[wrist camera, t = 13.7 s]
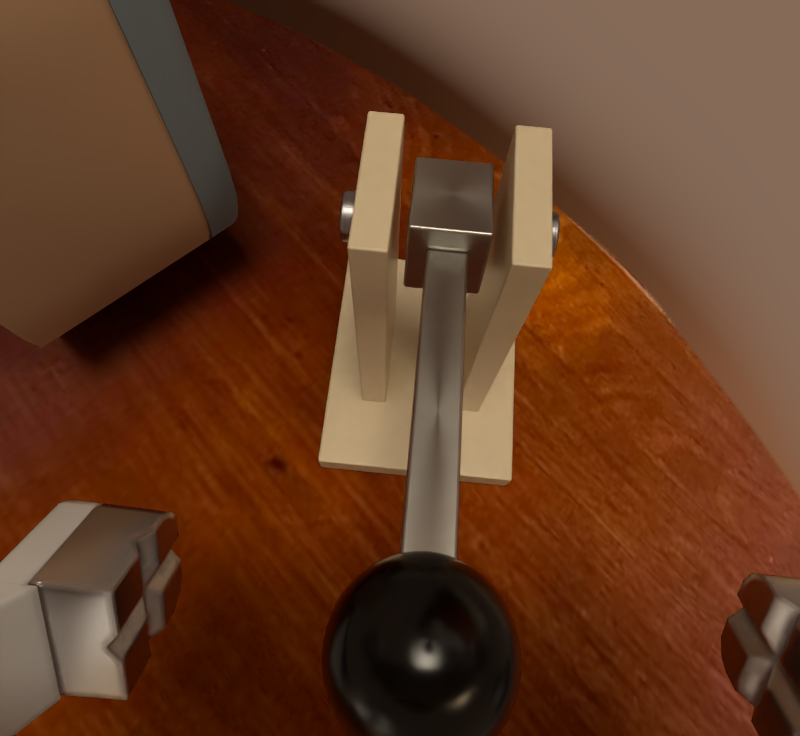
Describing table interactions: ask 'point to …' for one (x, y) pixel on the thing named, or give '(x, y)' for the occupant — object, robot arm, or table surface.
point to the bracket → (401, 306)
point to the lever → (430, 514)
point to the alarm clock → (98, 158)
